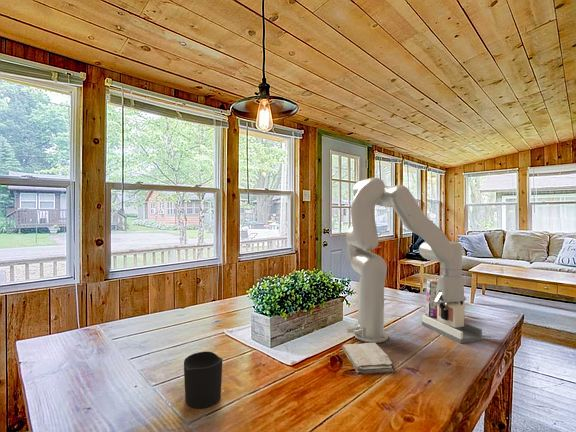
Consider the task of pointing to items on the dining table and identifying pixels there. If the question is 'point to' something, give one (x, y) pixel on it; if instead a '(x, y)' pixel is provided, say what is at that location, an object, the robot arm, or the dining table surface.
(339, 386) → the dining table surface
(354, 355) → the washcloth
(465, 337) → the shelf
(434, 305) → the candy bar box
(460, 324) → the product box
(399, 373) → the dining table surface
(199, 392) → the pen holder
